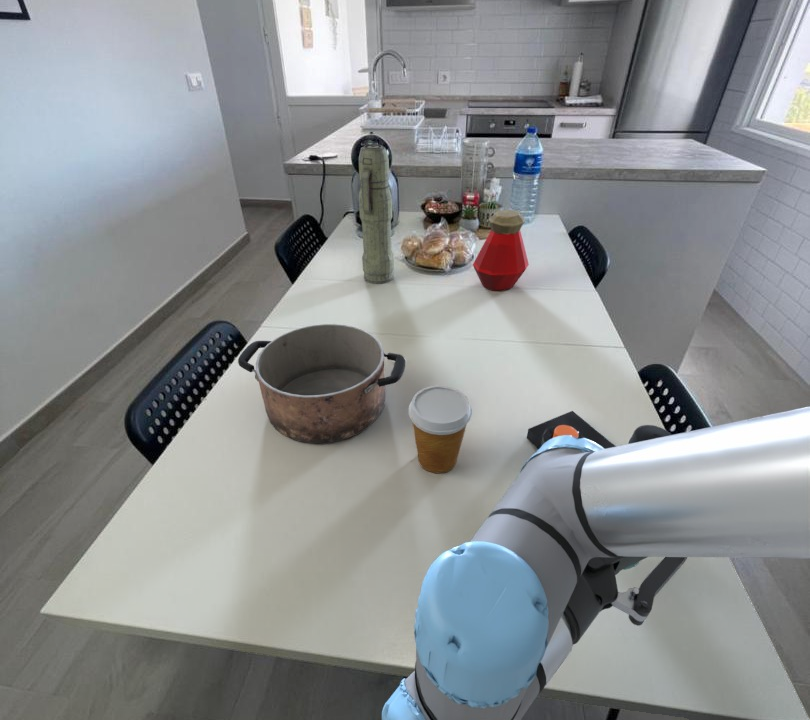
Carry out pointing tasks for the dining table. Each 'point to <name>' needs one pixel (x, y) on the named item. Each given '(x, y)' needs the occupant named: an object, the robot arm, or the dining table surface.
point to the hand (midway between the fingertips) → (652, 472)
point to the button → (565, 431)
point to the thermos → (375, 214)
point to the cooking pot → (322, 381)
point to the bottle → (502, 252)
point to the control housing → (546, 429)
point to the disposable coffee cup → (439, 426)
